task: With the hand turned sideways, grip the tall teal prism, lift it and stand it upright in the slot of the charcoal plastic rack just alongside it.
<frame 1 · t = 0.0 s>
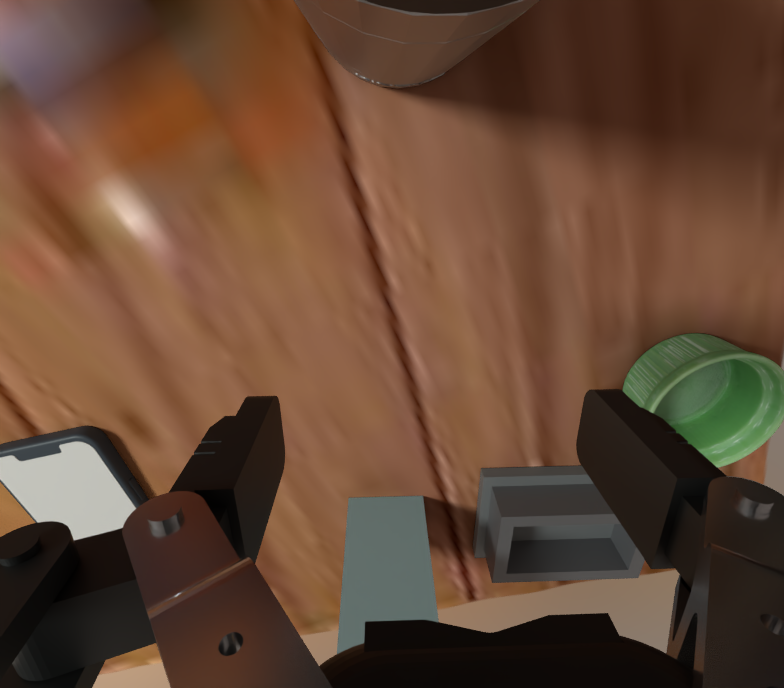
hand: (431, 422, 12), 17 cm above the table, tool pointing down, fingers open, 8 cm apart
rack: (554, 508, 37), on the table
tall teal prism: (386, 512, 37), on the table
ramekin: (674, 380, 32), on the table
phone case: (104, 505, 36), on the table
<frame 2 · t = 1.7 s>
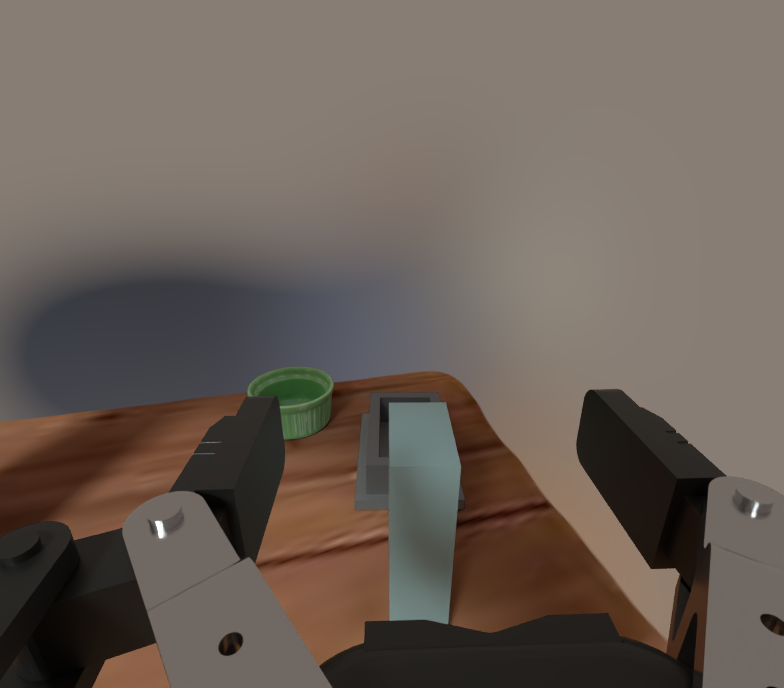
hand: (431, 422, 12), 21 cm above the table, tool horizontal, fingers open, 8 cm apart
rack: (406, 459, 43), on the table
tall teal prism: (415, 593, 30), on the table
ramekin: (294, 421, 49), on the table
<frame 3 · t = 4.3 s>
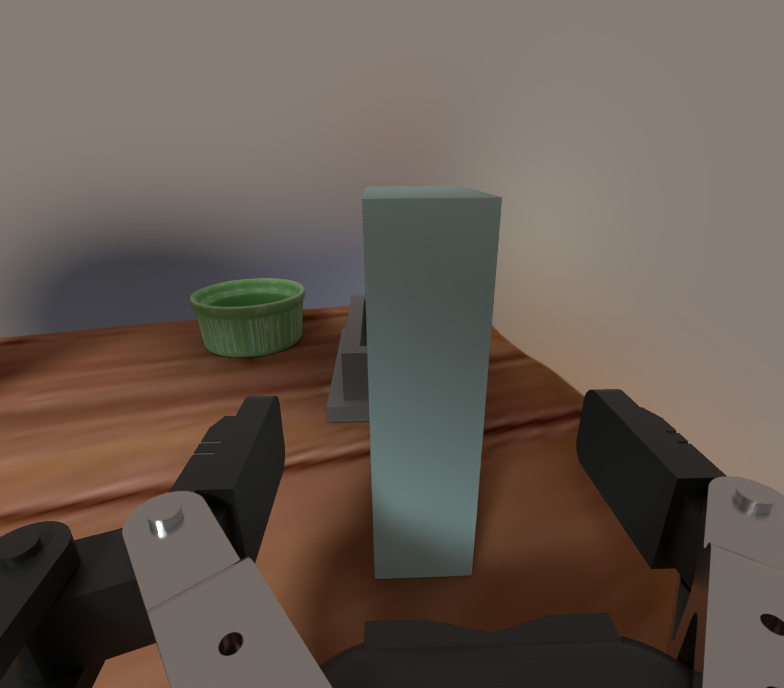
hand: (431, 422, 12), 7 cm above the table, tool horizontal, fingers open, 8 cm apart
rack: (399, 371, 32), on the table
tall teal prism: (416, 516, 19), on the table
ramekin: (255, 343, 38), on the table
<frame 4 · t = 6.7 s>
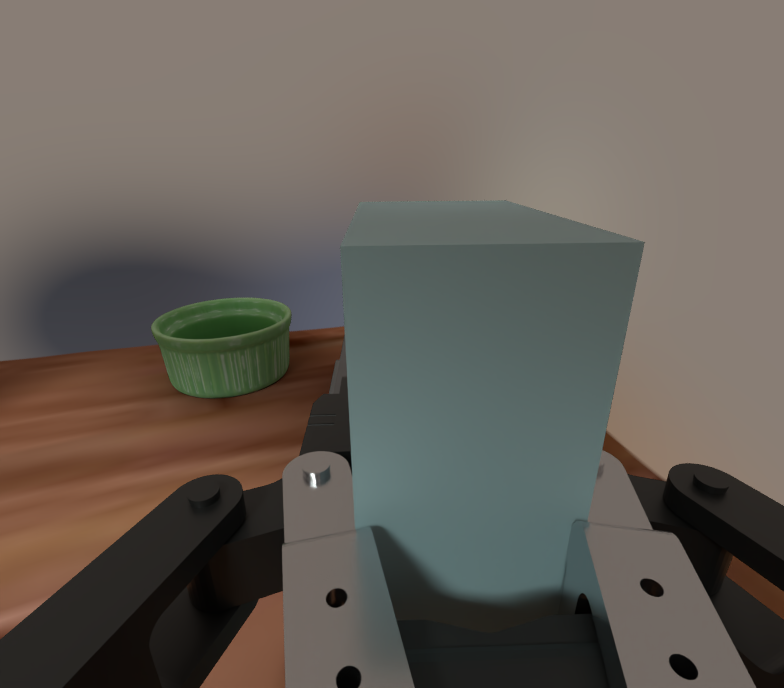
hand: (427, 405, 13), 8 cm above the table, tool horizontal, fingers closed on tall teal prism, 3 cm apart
rack: (405, 420, 26), on the table
tall teal prism: (433, 682, 13), on the table, touching gripper
ramekin: (233, 376, 32), on the table
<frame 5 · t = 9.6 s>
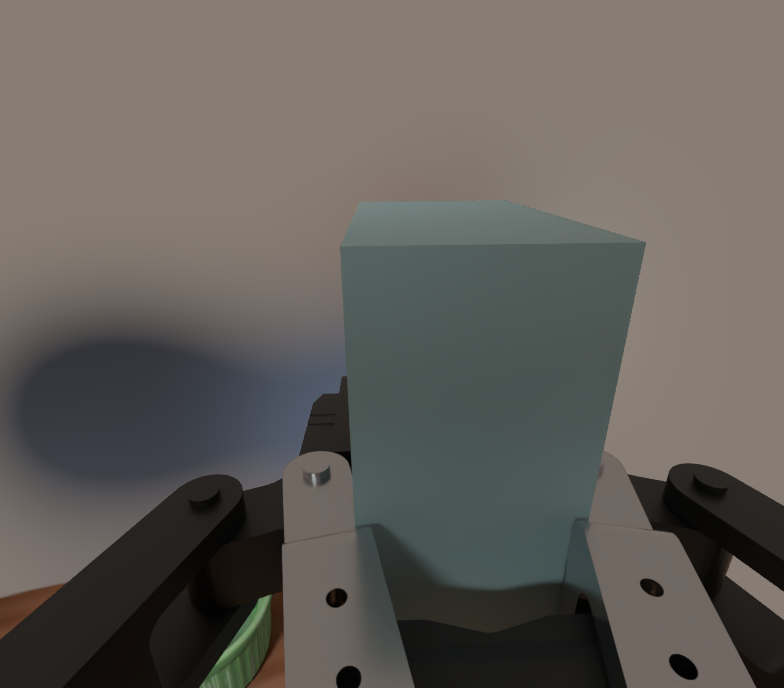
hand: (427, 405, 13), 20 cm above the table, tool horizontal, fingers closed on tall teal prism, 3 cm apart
tall teal prism: (433, 683, 13), point 12 cm above the table, touching gripper
ramekin: (202, 652, 26), on the table
when the fingers open (10 cm above the table, at t = 12.9 s): tall teal prism drops 2 cm, resting on rack.
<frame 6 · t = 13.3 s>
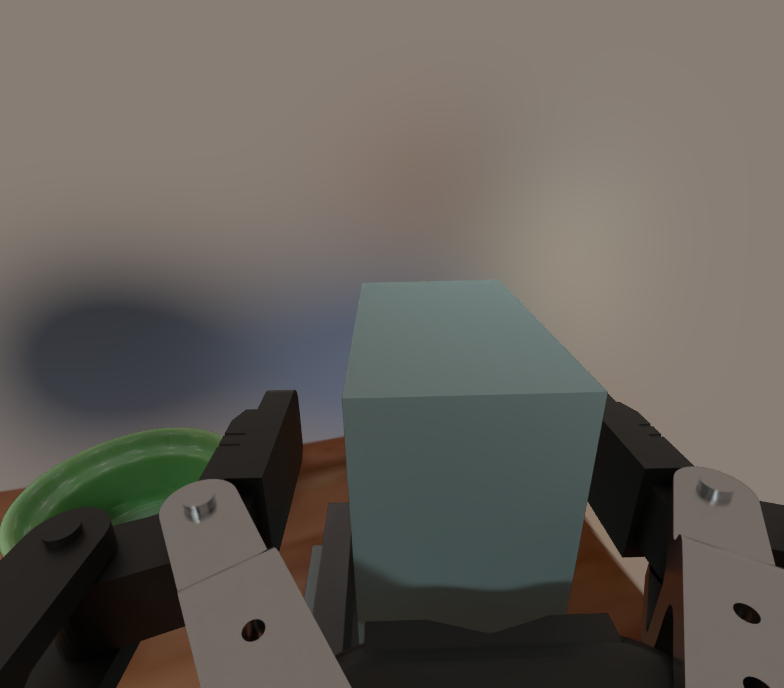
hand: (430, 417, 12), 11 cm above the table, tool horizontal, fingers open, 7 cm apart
ramekin: (154, 563, 21), on the table
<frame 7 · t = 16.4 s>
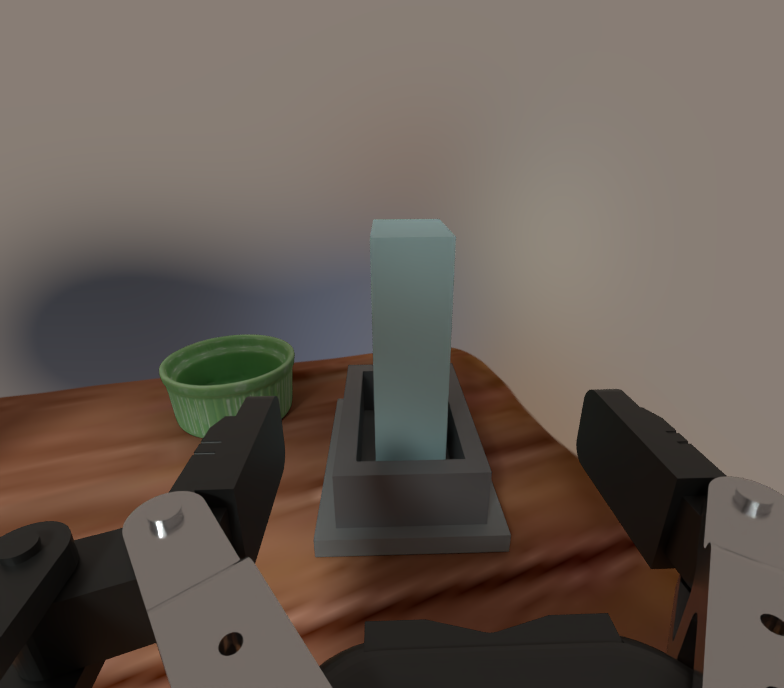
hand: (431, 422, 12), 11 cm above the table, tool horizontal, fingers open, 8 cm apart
rack: (404, 465, 27), on the table
tall teal prism: (407, 456, 26), point 1 cm above the table, touching rack
ramekin: (238, 413, 33), on the table
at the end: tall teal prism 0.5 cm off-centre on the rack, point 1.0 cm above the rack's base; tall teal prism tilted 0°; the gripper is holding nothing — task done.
